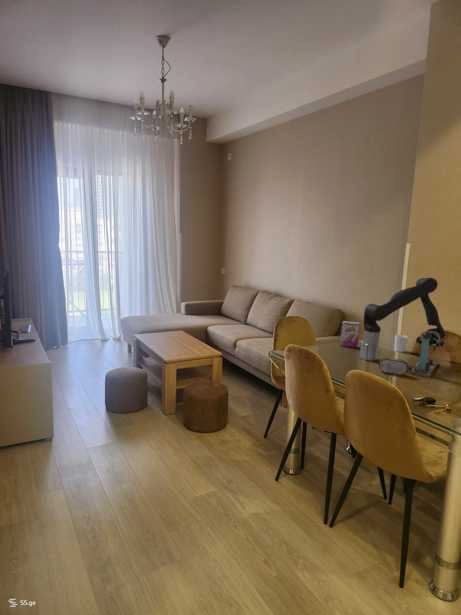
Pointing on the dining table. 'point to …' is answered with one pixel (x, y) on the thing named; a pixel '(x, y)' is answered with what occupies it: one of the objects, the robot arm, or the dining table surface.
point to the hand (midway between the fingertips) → (428, 344)
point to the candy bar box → (349, 334)
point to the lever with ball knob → (424, 354)
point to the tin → (393, 366)
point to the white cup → (400, 343)
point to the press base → (432, 367)
